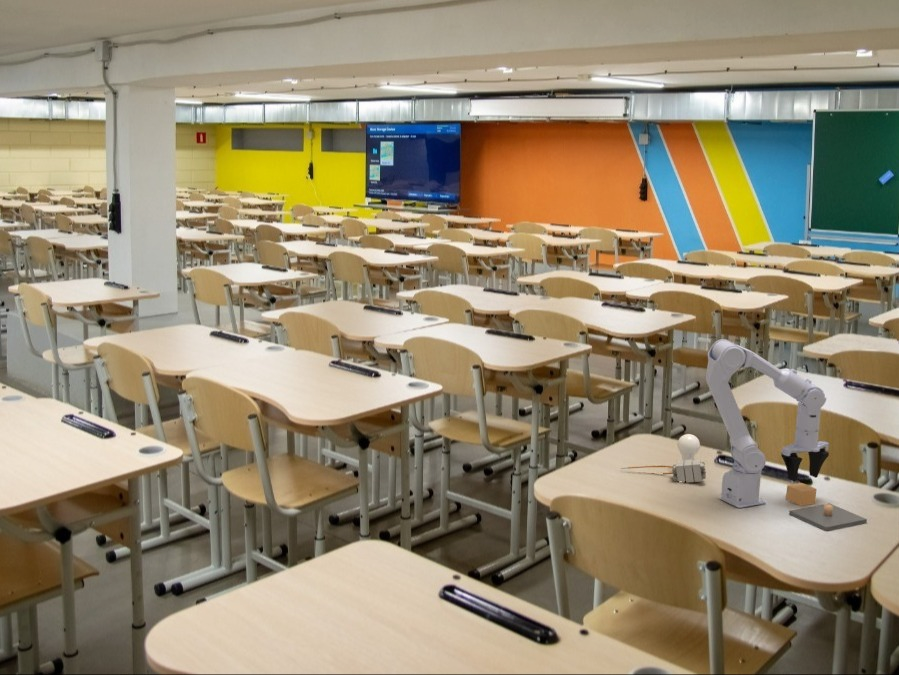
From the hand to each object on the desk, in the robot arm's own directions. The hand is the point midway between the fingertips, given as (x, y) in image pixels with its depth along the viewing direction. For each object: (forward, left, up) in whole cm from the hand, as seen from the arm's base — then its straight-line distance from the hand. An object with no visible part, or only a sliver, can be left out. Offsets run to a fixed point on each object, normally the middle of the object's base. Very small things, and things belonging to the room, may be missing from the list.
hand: (802, 478), depth 247 cm
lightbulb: (-12, +32, -7) cm, 35 cm away
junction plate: (-3, -12, -7) cm, 14 cm away
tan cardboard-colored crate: (0, 0, -7) cm, 7 cm away
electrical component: (-23, +30, -7) cm, 38 cm away
